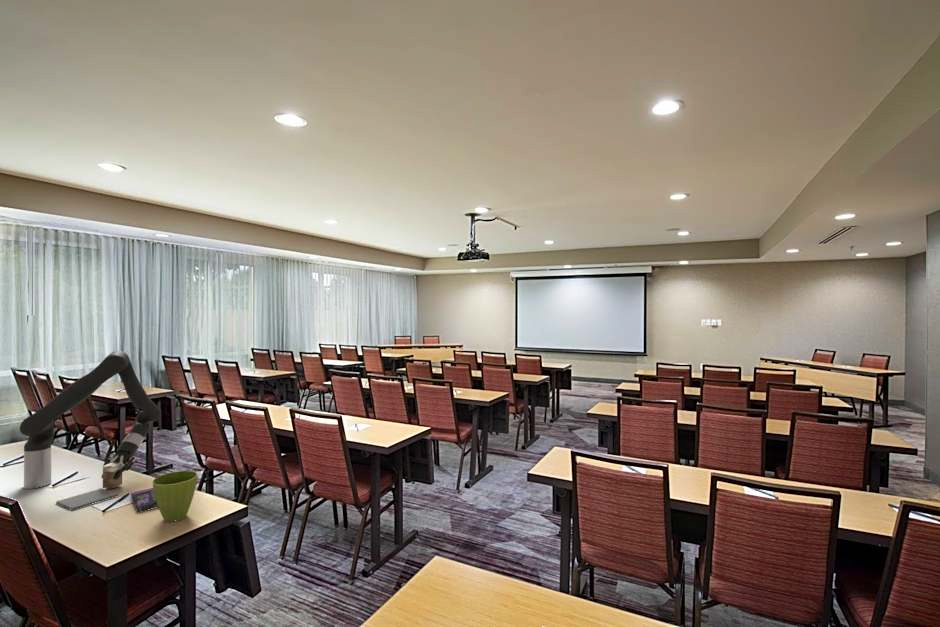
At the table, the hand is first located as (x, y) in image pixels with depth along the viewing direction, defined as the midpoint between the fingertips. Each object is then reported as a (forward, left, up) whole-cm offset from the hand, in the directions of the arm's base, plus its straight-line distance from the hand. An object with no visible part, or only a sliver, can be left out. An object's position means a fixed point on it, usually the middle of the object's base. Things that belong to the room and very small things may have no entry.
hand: (109, 478), depth 205 cm
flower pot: (+56, -2, -5) cm, 57 cm away
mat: (+5, -10, -5) cm, 13 cm away
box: (+31, +3, -6) cm, 32 cm away
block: (-1, +2, -4) cm, 5 cm away
